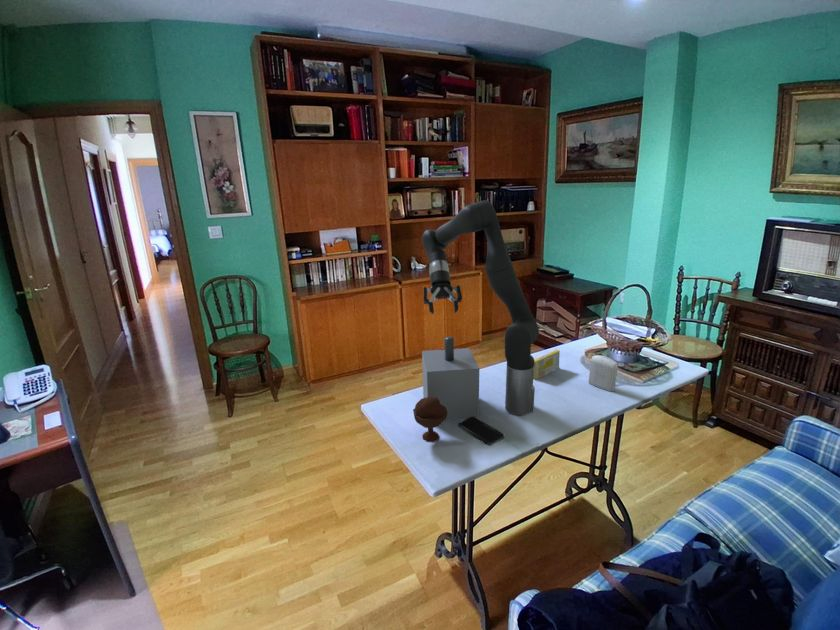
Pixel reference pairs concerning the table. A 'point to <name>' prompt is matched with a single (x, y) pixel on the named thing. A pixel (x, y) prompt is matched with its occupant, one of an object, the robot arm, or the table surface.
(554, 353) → the candy box
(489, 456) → the table surface
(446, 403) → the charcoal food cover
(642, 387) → the table surface
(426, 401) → the ice cream bowl
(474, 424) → the black smartphone
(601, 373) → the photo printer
